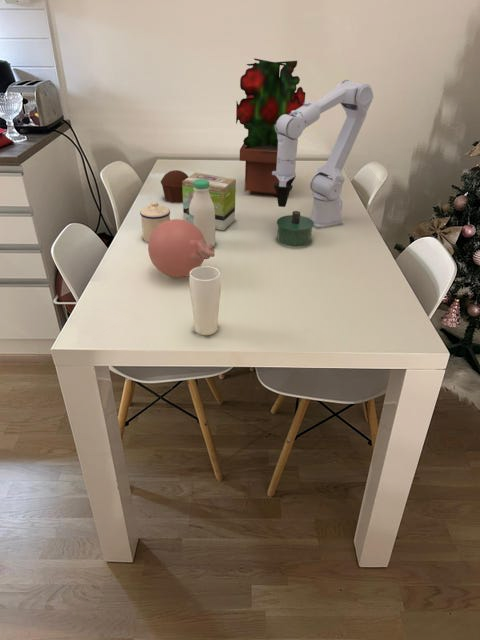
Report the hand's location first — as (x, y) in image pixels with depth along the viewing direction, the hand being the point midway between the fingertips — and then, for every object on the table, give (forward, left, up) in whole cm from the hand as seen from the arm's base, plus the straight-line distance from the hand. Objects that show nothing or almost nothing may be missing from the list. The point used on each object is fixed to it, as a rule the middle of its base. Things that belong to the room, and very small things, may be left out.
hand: (283, 202), depth 154 cm
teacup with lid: (+38, -11, -11) cm, 41 cm away
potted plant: (-13, -38, -11) cm, 42 cm away
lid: (-1, +7, -5) cm, 8 cm away
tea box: (+19, -16, -11) cm, 27 cm away
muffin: (+23, -41, -11) cm, 48 cm away
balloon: (+38, +17, -11) cm, 43 cm away
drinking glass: (+41, +43, -11) cm, 60 cm away
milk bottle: (+27, 0, -11) cm, 29 cm away
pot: (-1, +7, -10) cm, 13 cm away
